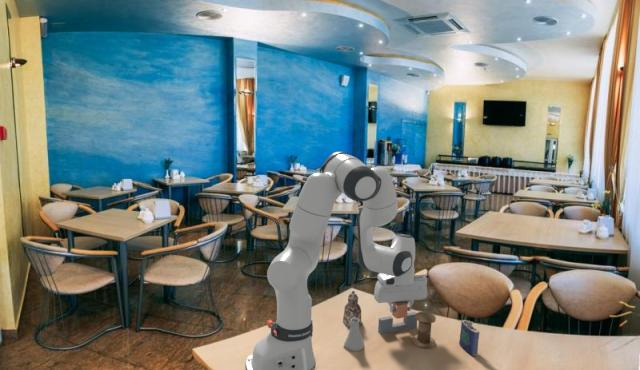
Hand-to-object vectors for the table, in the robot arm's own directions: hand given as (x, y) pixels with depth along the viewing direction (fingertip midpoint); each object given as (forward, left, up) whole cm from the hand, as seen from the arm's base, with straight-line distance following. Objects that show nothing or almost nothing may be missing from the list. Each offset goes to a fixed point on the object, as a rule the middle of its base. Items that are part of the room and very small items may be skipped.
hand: (400, 311), depth 157 cm
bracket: (0, +1, -8) cm, 8 cm away
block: (0, 0, -2) cm, 2 cm away
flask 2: (+16, -19, -8) cm, 26 cm away
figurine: (-14, +12, -8) cm, 20 cm away
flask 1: (-21, -4, -8) cm, 23 cm away
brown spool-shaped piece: (+4, -10, -8) cm, 14 cm away
